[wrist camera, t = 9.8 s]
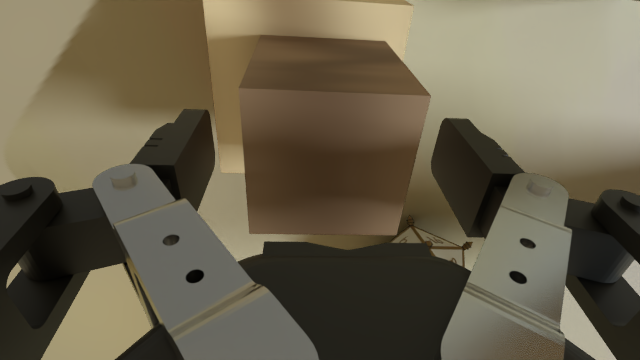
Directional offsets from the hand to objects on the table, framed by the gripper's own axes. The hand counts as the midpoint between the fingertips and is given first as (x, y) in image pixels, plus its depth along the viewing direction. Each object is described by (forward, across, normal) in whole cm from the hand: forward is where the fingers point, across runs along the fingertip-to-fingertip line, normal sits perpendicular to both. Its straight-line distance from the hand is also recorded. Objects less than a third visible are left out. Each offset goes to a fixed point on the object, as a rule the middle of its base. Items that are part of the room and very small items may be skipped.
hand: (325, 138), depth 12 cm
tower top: (+8, +1, 0) cm, 8 cm away
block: (+4, 0, 0) cm, 4 cm away
